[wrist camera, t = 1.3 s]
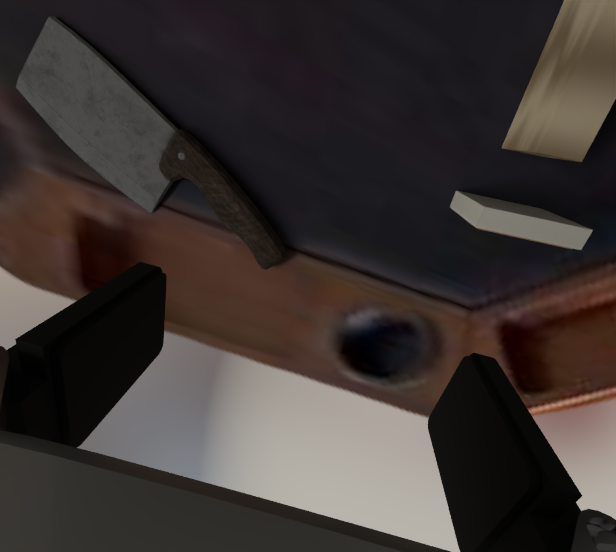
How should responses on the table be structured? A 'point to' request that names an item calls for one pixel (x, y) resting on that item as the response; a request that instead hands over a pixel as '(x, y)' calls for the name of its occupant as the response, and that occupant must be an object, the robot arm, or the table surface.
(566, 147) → the tan wooden block
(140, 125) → the cleaver
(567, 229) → the tile
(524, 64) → the table surface
